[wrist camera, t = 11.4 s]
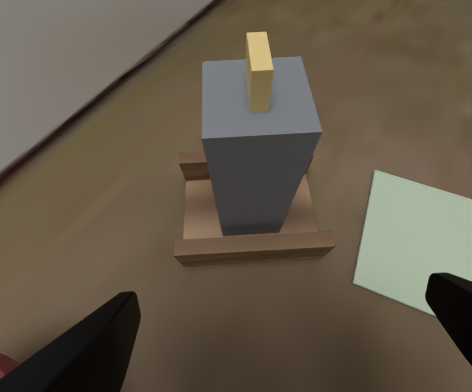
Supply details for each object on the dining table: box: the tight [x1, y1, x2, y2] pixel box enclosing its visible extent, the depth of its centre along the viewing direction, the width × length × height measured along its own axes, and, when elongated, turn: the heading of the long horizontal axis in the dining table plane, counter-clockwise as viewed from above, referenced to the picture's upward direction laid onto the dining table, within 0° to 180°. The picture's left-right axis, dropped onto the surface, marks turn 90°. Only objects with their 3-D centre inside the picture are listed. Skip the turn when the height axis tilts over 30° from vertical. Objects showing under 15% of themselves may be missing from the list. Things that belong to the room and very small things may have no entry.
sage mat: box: [352, 170, 472, 317], centre depth 22 cm, size 12×9×1 cm
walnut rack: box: [173, 151, 336, 266], centre depth 22 cm, size 9×12×4 cm
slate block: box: [202, 32, 322, 236], centre depth 16 cm, size 5×5×15 cm
